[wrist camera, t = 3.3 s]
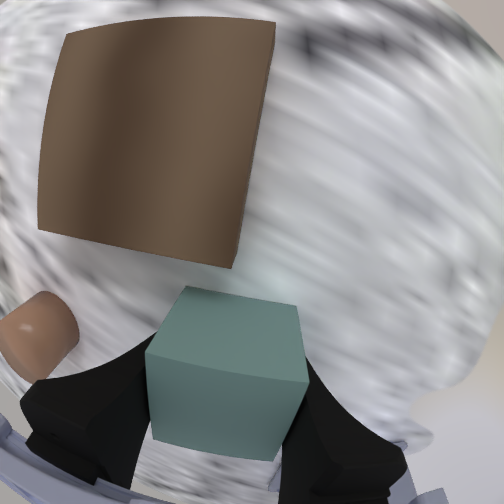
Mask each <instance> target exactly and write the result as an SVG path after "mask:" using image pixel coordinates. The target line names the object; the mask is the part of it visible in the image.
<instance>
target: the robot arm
mask: <svg viewBox="0 0 504 504" xmlns="http://www.w3.org/2000/svg"><path fill="white" fill-rule="evenodd" d="M156 333H157V332H156ZM156 333H154V334H153V335H151V336H150V337H149V338H147V339H146V340H145V341H143V342H142V343H140V344H139V345H137V346H136V347H134V348H133V349H131V350H130V351H128V352H126V353H125V354H123V355H121V356H119V357H118V358H116V359H114V360H112V361H110V362H108V363H105V364H103V365H101V366H98V367H96V368H93V369H90V370H87V371H84V372H81V373H77V374H73V375H69V376H64V377H59V378H51V379H42V380H37V381H36V382H35V383H34V384H33V385H32V386H31V387H30V389H29V390H28V391H27V392H26V393H25V395H24V396H23V397H22V398H21V400H20V406H21V409H22V412H23V414H24V416H25V417H26V419H27V421H28V423H29V424H30V426H31V428H32V429H33V432H32V433H31V435H30V436H29V438H28V439H26V438H25V437H23V436H22V435H20V434H19V433H17V432H16V431H15V430H13V429H12V427H11V425H10V423H9V422H8V420H7V419H6V418H5V417H4V416H3V415H2V414H1V413H0V480H2V481H3V482H4V483H5V484H6V485H8V486H9V487H10V488H11V489H13V490H14V491H15V492H17V493H18V494H19V495H21V496H22V497H23V498H25V499H26V500H27V501H29V502H31V503H32V504H174V503H170V502H167V501H163V500H159V499H156V498H153V497H149V496H146V495H143V494H140V493H136V492H134V491H131V490H130V488H131V483H132V479H133V475H134V471H135V467H136V463H137V460H138V456H139V453H140V449H141V446H142V443H143V440H144V437H145V434H146V431H147V428H148V425H149V423H150V411H149V401H148V391H147V379H146V364H145V351H146V349H147V348H148V346H149V344H150V343H151V341H152V340H153V338H154V336H155V335H156ZM305 358H306V356H305ZM306 364H307V370H308V376H309V385H308V387H307V390H306V392H305V395H304V397H303V399H302V402H301V404H300V406H299V408H298V411H297V413H296V415H295V417H294V419H293V422H292V424H291V426H290V428H289V430H288V432H287V434H286V436H285V438H284V441H283V443H282V464H281V466H280V468H279V469H278V471H277V473H276V475H275V476H274V478H273V480H272V481H271V483H270V484H269V486H268V491H270V492H279V500H278V504H449V503H448V500H447V497H446V494H445V492H444V489H443V488H439V489H436V490H433V491H429V492H426V493H423V494H421V495H419V496H417V493H416V490H415V487H414V483H413V480H412V477H411V474H410V471H409V469H408V465H407V463H406V460H405V457H404V454H403V451H404V450H405V449H406V448H407V443H406V442H398V443H391V442H389V441H387V440H385V439H383V438H381V437H380V436H378V435H377V434H375V433H374V432H372V431H371V430H369V429H368V428H366V427H365V426H364V425H362V424H361V423H360V422H359V421H358V420H356V419H355V418H354V417H353V416H352V415H351V414H349V413H348V412H347V411H346V410H345V409H344V408H343V407H342V406H341V405H340V404H339V403H338V401H337V400H336V399H335V398H334V397H333V396H332V394H331V393H330V392H329V391H328V389H327V388H326V387H325V385H324V384H323V382H322V381H321V380H320V378H319V377H318V375H317V374H316V372H315V371H314V369H313V367H312V366H311V364H310V363H309V361H308V359H307V358H306Z"/></svg>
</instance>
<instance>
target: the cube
mask: <svg viewBox="0 0 504 504" xmlns="http://www.w3.org/2000/svg"><path fill="white" fill-rule="evenodd" d="M145 364H146V379H147V391H148V401H149V411H150V420H151V428H152V435H153V439H154V440H158V441H161V442H165V443H168V444H172V445H176V446H180V447H184V448H189V449H193V450H198V451H202V452H207V453H213V454H218V455H224V456H230V457H237V458H244V459H253V460H262V461H273V460H274V458H275V457H276V455H277V453H278V451H279V449H280V447H281V445H282V443H283V441H284V438H285V436H286V434H287V432H288V430H289V428H290V426H291V424H292V422H293V419H294V417H295V415H296V413H297V411H298V408H299V406H300V404H301V402H302V399H303V397H304V395H305V392H306V390H307V387H308V385H309V376H308V370H307V364H306V358H305V352H304V346H303V340H302V334H301V329H300V323H299V318H298V312H297V307H296V306H293V305H287V304H281V303H275V302H269V301H263V300H258V299H252V298H246V297H241V296H235V295H230V294H225V293H219V292H214V291H209V290H204V289H199V288H194V287H189V286H186V287H185V288H184V290H183V291H182V293H181V295H180V296H179V298H178V299H177V301H176V302H175V304H174V306H173V307H172V309H171V310H170V312H169V314H168V315H167V317H166V318H165V320H164V322H163V323H162V325H161V327H160V328H159V330H158V331H157V333H156V335H155V336H154V338H153V340H152V341H151V343H150V344H149V346H148V348H147V349H146V351H145Z"/></svg>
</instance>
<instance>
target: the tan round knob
mask: <svg viewBox="0 0 504 504" xmlns="http://www.w3.org/2000/svg"><path fill="white" fill-rule="evenodd" d="M78 341H79V328H78V324H77V321H76V319H75V317H74V315H73V313H72V312H71V310H70V309H69V307H68V306H67V305H66V303H65V302H64V301H63V300H62V299H60V298H59V297H58V296H57V295H55V294H53V293H51V292H48V291H41V292H39V293H37V294H36V295H34V296H33V297H32V298H30V299H29V300H27V301H26V302H25V303H23V304H22V305H20V306H19V307H18V308H16V309H15V310H14V311H12V312H11V313H9V314H8V315H7V316H5V317H4V318H3V319H2V320H0V351H1V353H2V355H3V357H4V358H5V360H6V361H7V363H8V364H9V365H10V367H11V368H12V369H13V370H14V371H15V372H16V373H17V374H18V375H19V376H20V377H21V378H23V379H24V380H26V381H27V382H29V383H31V384H34V383H35V382H36V381H37V380H42V379H46V378H47V377H48V376H49V375H50V373H51V372H52V371H53V370H54V369H55V368H56V367H57V365H58V364H59V363H60V362H61V361H62V360H63V359H64V358H65V356H66V355H67V354H68V353H69V352H70V351H71V350H72V349H73V348H74V347H75V345H76V344H77V343H78Z"/></svg>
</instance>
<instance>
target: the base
mask: <svg viewBox="0 0 504 504" xmlns="http://www.w3.org/2000/svg"><path fill="white" fill-rule="evenodd" d="M275 29H276V22H270V21H263V20H254V19H244V18H230V17H166V18H153V19H143V20H134V21H127V22H120V23H114V24H108V25H103V26H98V27H93V28H89V29H84V30H80V31H76V32H72V33H68V34H66V37H65V40H64V43H63V46H62V49H61V52H60V56H59V59H58V63H57V66H56V70H55V73H54V77H53V81H52V85H51V90H50V94H49V99H48V104H47V109H46V115H45V121H44V127H43V134H42V141H41V150H40V161H39V174H38V200H37V217H38V229H39V230H43V231H48V232H52V233H57V234H61V235H66V236H70V237H75V238H79V239H84V240H89V241H93V242H98V243H103V244H107V245H112V246H117V247H122V248H126V249H131V250H136V251H141V252H146V253H151V254H156V255H161V256H166V257H171V258H176V259H181V260H186V261H192V262H197V263H202V264H207V265H212V266H218V267H223V268H228V269H231V268H232V265H233V262H234V259H235V257H236V254H237V249H238V243H239V237H240V231H241V225H242V220H243V214H244V208H245V202H246V196H247V190H248V185H249V179H250V173H251V168H252V162H253V156H254V151H255V145H256V140H257V134H258V129H259V123H260V118H261V112H262V107H263V102H264V96H265V91H266V86H267V81H268V75H269V70H270V65H271V60H272V55H273V50H274V45H275Z"/></svg>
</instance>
